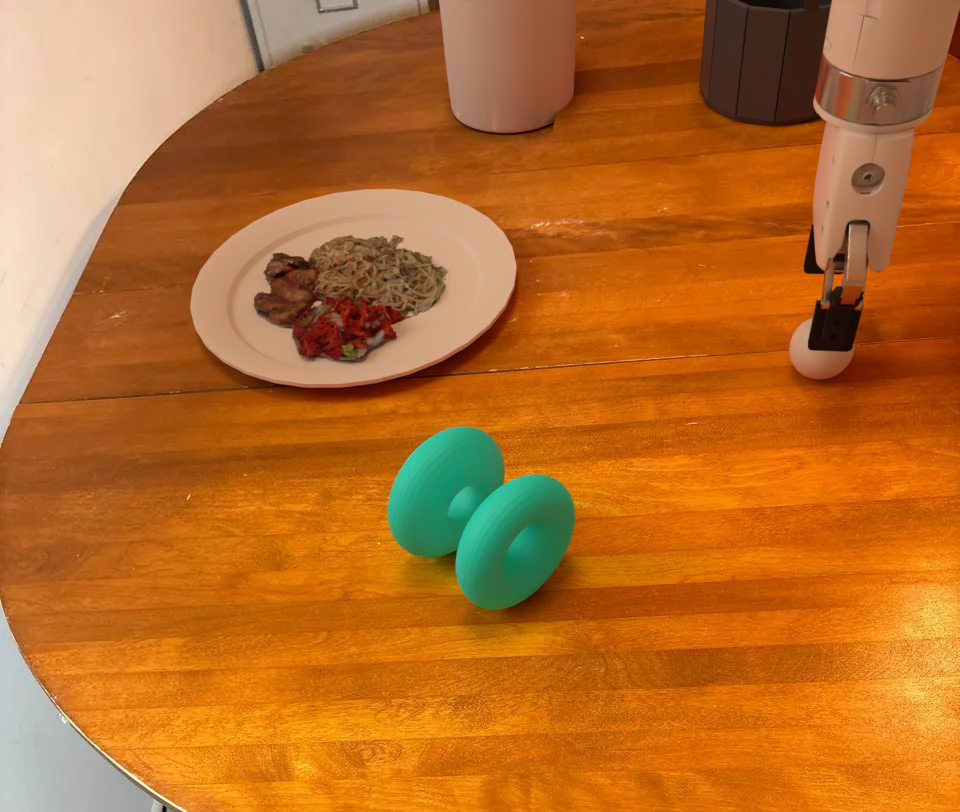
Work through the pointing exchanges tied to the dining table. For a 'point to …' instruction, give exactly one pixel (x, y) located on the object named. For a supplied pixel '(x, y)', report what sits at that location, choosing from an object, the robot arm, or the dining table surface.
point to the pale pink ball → (816, 356)
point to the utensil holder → (509, 61)
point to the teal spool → (481, 517)
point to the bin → (763, 58)
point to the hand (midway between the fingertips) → (826, 309)
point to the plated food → (353, 288)
